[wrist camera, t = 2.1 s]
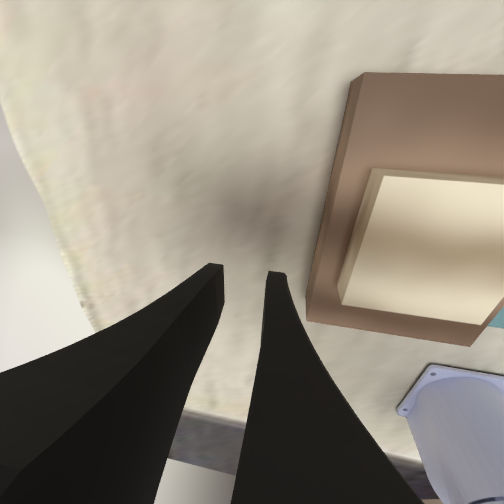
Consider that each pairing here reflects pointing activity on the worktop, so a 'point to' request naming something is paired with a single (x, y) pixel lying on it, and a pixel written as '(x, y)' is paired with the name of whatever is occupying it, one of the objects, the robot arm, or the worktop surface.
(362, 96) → the walnut board
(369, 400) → the worktop surface
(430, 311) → the cream square slab
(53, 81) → the worktop surface
